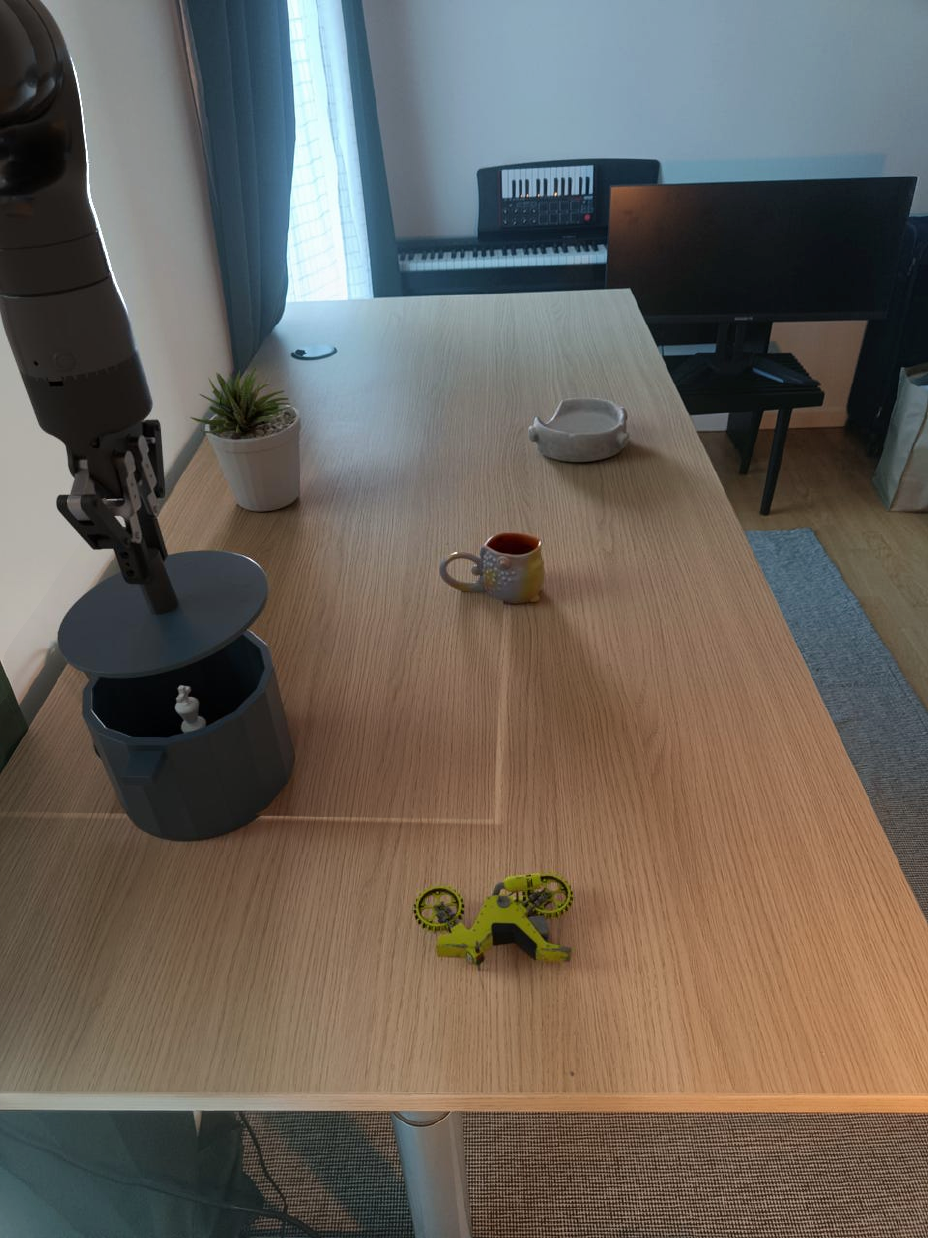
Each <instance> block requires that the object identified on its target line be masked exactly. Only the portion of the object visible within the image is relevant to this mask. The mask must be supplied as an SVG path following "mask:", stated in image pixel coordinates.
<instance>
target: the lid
mask: <svg viewBox="0 0 928 1238" xmlns="http://www.w3.org/2000/svg"><path fill="white" fill-rule="evenodd" d="M147 550H148V553H149V556H150V560H151V563H152V566H153V569H154V572H155V577H154V579H153V581H152V582H151V583H150V584H128V583H126V582H125V581H124V578H123V576H122V573H121V570H120V571H118V572H116V573H114V574H113V575H110V576H109V577H107V578H106V579H104V580H102V581H101V582H99V583H98V584H96V585H95V586H93V587H92V588H90V589H89V590H88V591H87V592H85V593H83V594H82V596H81V597H79V598H78V600H77V601H75V602H74V603H73V605H71V607H70V608H69V609H68V611H67V612H66V614H65V615H64V616H63V618H62V620H61V622H60V624H59V627H58V629H57V638H56V639H57V640H56V641H57V647H58V649H59V651H60V654H61V655H62V657H63V659H64V660H65V661H66V662H67V664H69V665H70V666H71V667H73V668H74V669H75V670H77V671H80V672H82V673H84V674H87V675H90V676H92V675H94V676H98V677H105V678H136V677H143V676H150V675H155V674H160V673H164V672H168V671H171V670H175V669H178V668H181V667H184V666H187V665H189V664H192V663H194V662H197V661H199V660H201V659H203V658H205V657H208V656H210V655H212V654H213V653H215V652H217V651H219V650H221V649H222V648H224V647H225V646H227V645H228V644H230V643H231V642H233V641H234V640H236V639H237V638H238V637H239V636H241V635H242V634H243V633H244V632H245V631H246V630H249V629H250V628H251V627H252V626H253V624H255V622H256V621H257V620H258V619H259V617H260V616H261V614H262V612H263V611H264V609H265V607H266V605H267V602H268V600H269V594H270V585H269V581H268V577H267V575H266V573H265V571H264V570H263V568H262V567H261V566H260V565H259V564H258V563H257V562H255V561H254V560H253V559H251V558H249V557H248V556H247V557H246V556H245V555H243V554H238V553H235V552H230V551H226V550H216V549H215V550H214V549H211V550H210V549H204V550H203V549H201V550H188V551H181V552H175V553H170V554H168V556H167V558H166V560H165V561H164V562H163V559H162V557H161V554H160V551H159V550H158V549H157V548H153V547H150V548H147Z"/></svg>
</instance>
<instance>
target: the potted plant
mask: <svg viewBox="0 0 928 1238" xmlns="http://www.w3.org/2000/svg"><path fill="white" fill-rule="evenodd" d="M256 367H257V366H254V367H253V368H252V370H251V372H249V373H248V374H247V375H246V376H245V377H244V379H243V381H242V384H241V385H240V381H241V380H240V379H241V370H239V371H238V372H237V375H236V378H235V381H233V377H232V374H231V371H228V376H229V381H230V385H229V384H228V383H227V382H226V380H225V379H224V378H223V376H222V375H221V374H220V373H217V371H216V372H215V375H216V380H217V382H218V384H219V387H220V388H221V390H222V391H219V390H218V388H217V387H216V386H215V385H214V383H213V381H212V380H211V378H210V377H208V378H207V379H208V381H209V383H210V386H211V387H212V389H213V390H212V394H213V395H214V396H215V397H216V399H218V401H216V400H215V399H212V398H210V397H208V396H206V395H203V394H202V393H200V394H198V395H199V396H201V397H202V398H204V399H206V400H208V401H210V402H211V403H212V404H214V405H215V406H216V407H215V406H212V405H210V406H209V407H208V409H209V410H210V411H211V412H213V413H214V415H213V416H212V417H210V418H209V419H200V418H196V417H192V416H190V417H189V418H190V419H191V420H193V421H195V422H198V423H200V424H201V423H202V424H205V425H204V430H202V429H199V431H200V432H202V433H203V434H205V435H206V437H207V439H208V442H209V444H210V445H211V446H212V448H213V450H214V452H215V455H216V457H217V460H218V462H219V465H220V467H221V469H222V471H223V474H224V477H225V479H226V482H227V484H228V486H229V489H230V491H231V493H232V495H233V497H234V499H235V502H236V503H237V504H238V506H239V507H241V509H242V508H243V509H244V510H247V511H251V512H258V513H259V512H260V513H261V512H270V511H271V512H272V511H275V510H280V509H283V508H285V507H287V506H289V505H291V504H292V503H293V502H295V501H296V500H297V498H298V497H299V495H300V490H301V489H300V488H301V449H300V447H301V443H300V432H301V425H302V424H301V423H302V422H301V413H300V411H298V410H297V408H295V407H293V406H291V403H289V402H281V401H289V398H288V397H276V398H272V397H274V396H276V395H279V394H282V393H285V392H286V391H285V390H279V391H274V392H270V393H268V394H266V395H263V396H260V397H259V398H258V395H259V392H260V390H262V389H263V388H265V387H267V386H269V385H271V384H272V383H271V382H268V383H265V384H261V385H260V383H258V384H257V387H256V388H255V389H254V390H253V388H254V385H255V382H256V381H257V377H258V375H259V371H257V372H256V374H254V373H255V371H256V370H257V368H256ZM271 398H272V399H271Z"/></svg>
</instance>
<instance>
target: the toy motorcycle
mask: <svg viewBox="0 0 928 1238" xmlns="http://www.w3.org/2000/svg"><path fill="white" fill-rule="evenodd" d="M550 883H555V884H556V885H557V886H558V888H557V889H555V890H551V889H549V888H548V885H549V884H550ZM542 886H543V889H542ZM541 889H542V890H541ZM502 890H504V891H506V892H508V893H509V894H507V893H503V894H500V892H501V891H502ZM539 890H540V891H539ZM519 892H521V893H522V896H519ZM514 894H515V897H511V896H512V895H514ZM557 894H562V895H563V896H564V897H565V899H564V900H563V901H557V900H556V899H555V896H556V895H557ZM445 895H447V896H449V897H450V900H449V902H447V903H444V901H442V900H441V897H442V896H445ZM430 897H434V898H435V900H436V902H435V903H434V904H433V905H431V904H430V905H429V904H427V902H426V900H427V899H428V898H430ZM573 901H574V890H573V889H572V885H571V884H568V880H567V879H564V877H563V875H561V876H559V875H558V873H556V872H555V873H554V874H553V873H551V871H548V873H545V871H542V873H540V872H537V873H530V874H520V875H519V874H518V875H510V876H507V877H506V878H505V879H504V880H502V881H499V882H497V883H496V884H495V886H494V888H493V892H492V894H491V895H489V896H487V897H486V899H484V902H483V904H481V907H480V909H479V911H478V913H477V916H476V917H475V919H474V921H473V924H472V925H471V928H470V929H467V927H466V926H465V925H464V923H463V922H461V921H463V919H464V917H463V915H465V902H464V898H463V896H461V892H459V891H458V892H457V889H456V888H455V887H454V888H451V886H450V885H448V886H445V884H443V883H442V884H441V885H439V884H435V886H432V885H430V886H429V888H424V889H423V892H420V891H419V893H418V897H417V896H416V897H415V902H413V907H414V908H413V909H412V911H413V915H414V920H415V921H416V922H417V923H416V924H417V925H418V926H420V925H421V929H422V930H424V929H426V932H427V933H430V931H431V932H433V934H436V932H437V933H438V932H440V934H439V935H438V937H437V942H436V946H435V947H436V955H437V958H455V959H456V958H457V959H466V960H467V962H468V964H469V965H473V966H474V968H476V967H477V971H478V972H480V971H481V965H482V963H484V962H485V961H486V952H488V951H489V950H490V948H492V947H495V946H496V947H497V946H505V945H512V944H513V945H515V946H517V947H518V948H519V949H520V950H522V951H523V952H524V953H525V954H526V955H527V956H529V958H531V959H532V960H534V961H538V962H554V963H555V962H558V963H569V962H570V961H571V960H572V953H573V949H572V947H569V946H564V945H559V944H554V943H549V929H548V925H547V919H550V921H554V919H557V920H559V919H560V917H561V916H563V917H564V916H565V915H566V912H567V913H570V908H572V906H573ZM552 903H553V904H554V905H555V908H554V909H553V910H548V909H547V906H548V905H551V904H552ZM451 906H452V907H454V908H455V909H456V911H455V912H454V911H453V910H452V909H451ZM427 909H429V910H432V913H433V914H432V915H431V916H430V917H424V915H423V911H425V910H427ZM530 912H531V913H530ZM435 918H437V919H438V920H437V922H438V923H436V921H435ZM445 931H446V933H445V934H443V932H445Z"/></svg>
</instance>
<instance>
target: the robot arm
mask: <svg viewBox="0 0 928 1238" xmlns="http://www.w3.org/2000/svg"><path fill="white" fill-rule="evenodd" d="M88 162H89V159H88V149H87V141H86V133H85V123H84V114H83V107H82V99H81V92H80V87H79V82H78V77H77V72H76V70H75V65H74V61H73V58H72V56H71V52H70V49H69V47H68V43H67V42H66V40H65V37H64V35H63V32H62V31H61V28H60V27H59V25H58V22H57V21H56V19H55V18H54V16H53V15H52V13H51V11H50V10H49V9H48V7H47V6H46V5H45V4H44V2H42V0H0V319H1V322H2V327H3V329H4V332H5V336H6V338H7V341H8V343H9V344H8V345H9V347H10V350H11V352H12V354H13V357H14V361H15V363H16V366H17V369H18V371H19V374H20V377H21V380H22V383H23V385H24V388H25V391H26V393H27V396H28V399H29V402H30V405H31V407H32V409H33V413H34V415H35V418H36V421H37V423H38V426H39V428H40V429H41V430H42V431H43V432H44V433H46V434H48V435H49V436H52V437H54V438H56V439H57V440H59V441H60V442H62V444H63V445H64V446H65V450H66V457H67V467H68V470H69V473H70V475H71V476H72V478H74V479H73V482H72V486H71V488H70V492H69V494H58V496H57V497H56V501H55V506H56V510H57V511H58V512H59V513H60V514H61V516H62V517H63V518H64V519H65V521H67V522H68V523H69V524H70V526H71V527H72V528H73V529H74V531H76V533H78V534H79V536H80V537H81V538H82V539H83V541H85V543H87V545H88V546H89V548H90V549H92V550H93V551H101V550H113V553H114V555H115V558H116V561H117V564H118V567H119V570H120V571H121V573H122V576H123V578H124V581H125V582H126V583H128V584H150V583H151V582H152V581H153V579H154V577H155V572H154V569H153V566H152V563H151V560H150V556H149V553H148V550H147V548H150V547H153V548H157V549H158V550H159V551H160V554H161V557H162V559H163V562H164V561H165V560H166V558H167V556H168V555H169V553H168V549H167V547H166V542H165V540H164V537H163V533H162V529H161V526H160V523H159V519H158V517H159V516H160V512H161V509H160V508H161V507H160V504H159V501H158V499H164V498H165V496H166V481H165V467H164V452H163V451H164V450H163V439H162V437H163V436H162V426H161V425H162V424H161V421H159V419H154V418H153V419H146V418H147V417H148V416H149V415H150V414H151V412H152V410H153V407H154V403H153V397H152V394H151V391H150V387H149V383H148V378H147V376H146V373H145V369H144V366H143V361H142V357H141V354H140V351H139V347H138V344H137V340H136V337H135V334H134V333H135V332H134V330H133V326H132V322H131V319H130V315H129V312H128V308H127V305H126V302H125V300H124V298H123V296H122V293H121V290H120V289H119V286H118V284H117V281H116V278H115V275H114V272H113V271H112V270H113V269H112V266H111V262H110V258H109V255H108V251H107V248H106V243H105V240H104V237H103V232H102V230H101V227H100V223H99V220H98V216H97V214H96V210H95V208H94V205H93V202H92V198H91V192H90V183H89V181H90V180H89V163H88ZM117 517H121V518H122V519H123V521H124V526H123V525H122V524H121V522H120V521H119V520H118V518H117Z"/></svg>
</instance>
